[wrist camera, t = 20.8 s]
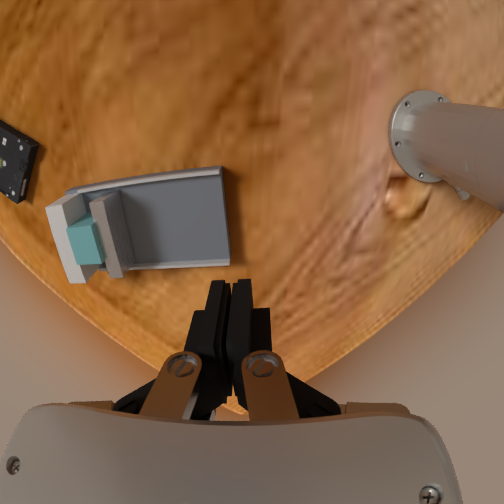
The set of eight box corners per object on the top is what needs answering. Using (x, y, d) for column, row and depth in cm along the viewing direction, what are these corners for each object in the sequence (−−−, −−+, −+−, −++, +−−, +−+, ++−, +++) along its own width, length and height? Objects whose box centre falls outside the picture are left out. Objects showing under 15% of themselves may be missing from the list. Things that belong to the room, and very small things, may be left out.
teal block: (110, 209, 35) (90, 225, 30) (119, 243, 37) (101, 263, 32) (86, 212, 35) (65, 228, 30) (95, 245, 37) (77, 264, 32)
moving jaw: (119, 189, 34) (102, 200, 30) (135, 260, 38) (123, 277, 34) (105, 191, 34) (89, 202, 30) (123, 261, 38) (110, 278, 34)
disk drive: (42, 141, 33) (-9, 112, 29) (31, 144, 30) (-19, 114, 27) (27, 199, 37) (-20, 166, 33) (17, 205, 34) (-30, 170, 31)
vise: (221, 165, 34) (213, 178, 28) (231, 254, 40) (226, 282, 34) (72, 187, 35) (44, 203, 29) (92, 261, 41) (70, 286, 35)
